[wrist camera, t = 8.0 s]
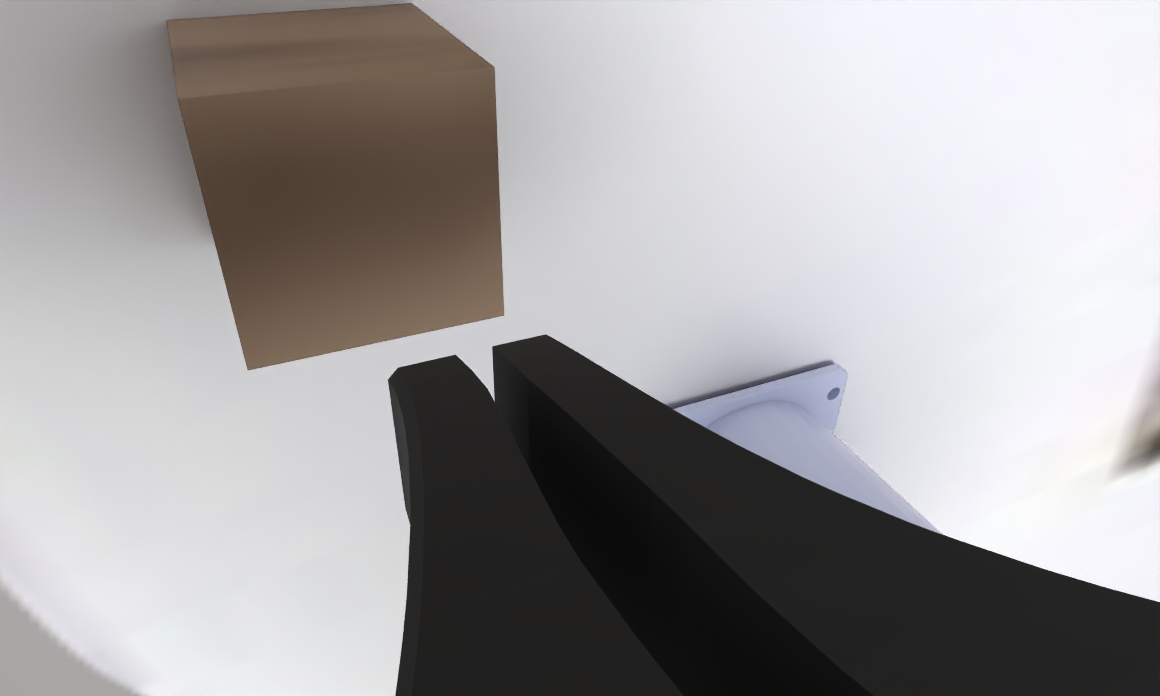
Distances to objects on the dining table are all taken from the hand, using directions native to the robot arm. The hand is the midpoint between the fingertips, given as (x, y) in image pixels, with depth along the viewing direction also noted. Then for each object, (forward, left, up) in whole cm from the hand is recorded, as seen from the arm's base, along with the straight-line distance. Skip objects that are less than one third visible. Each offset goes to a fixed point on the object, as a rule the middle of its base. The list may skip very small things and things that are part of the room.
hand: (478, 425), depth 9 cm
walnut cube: (0, 0, -10) cm, 10 cm away
